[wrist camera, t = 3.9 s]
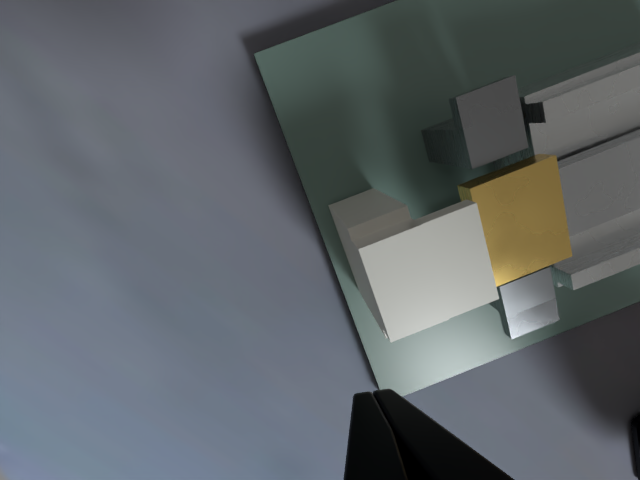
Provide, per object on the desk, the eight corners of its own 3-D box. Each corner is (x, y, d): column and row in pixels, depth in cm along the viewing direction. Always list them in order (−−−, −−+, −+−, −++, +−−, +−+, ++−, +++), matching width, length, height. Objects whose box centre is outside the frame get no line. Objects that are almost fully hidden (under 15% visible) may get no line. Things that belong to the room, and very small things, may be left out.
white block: (437, 261, 20) (502, 310, 15) (359, 291, 20) (394, 353, 15) (412, 172, 19) (474, 189, 13) (328, 205, 19) (353, 236, 13)
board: (760, 240, 24) (780, 245, 23) (380, 392, 23) (385, 403, 23) (762, -132, 18) (789, -147, 17) (254, 58, 18) (253, 53, 17)
